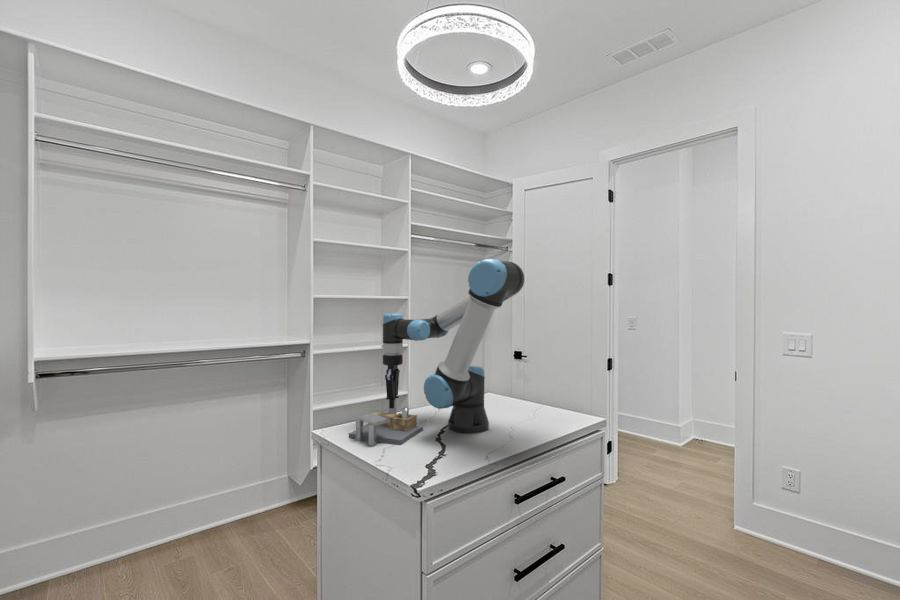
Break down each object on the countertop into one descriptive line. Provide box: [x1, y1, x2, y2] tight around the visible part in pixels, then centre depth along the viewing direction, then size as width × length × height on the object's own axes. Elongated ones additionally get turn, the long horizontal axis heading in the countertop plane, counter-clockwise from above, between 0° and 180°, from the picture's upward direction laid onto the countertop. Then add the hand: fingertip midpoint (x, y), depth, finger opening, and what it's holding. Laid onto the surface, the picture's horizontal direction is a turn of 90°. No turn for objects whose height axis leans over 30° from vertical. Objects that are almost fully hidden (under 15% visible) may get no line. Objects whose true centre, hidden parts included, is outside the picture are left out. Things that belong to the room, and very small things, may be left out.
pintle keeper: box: [355, 407, 410, 447], centre depth 152 cm, size 13×19×8 cm
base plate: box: [348, 423, 424, 446], centre depth 155 cm, size 20×17×2 cm
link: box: [367, 411, 418, 431], centre depth 160 cm, size 17×7×4 cm, turn 69°
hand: (392, 415), depth 169 cm, fingers closed
